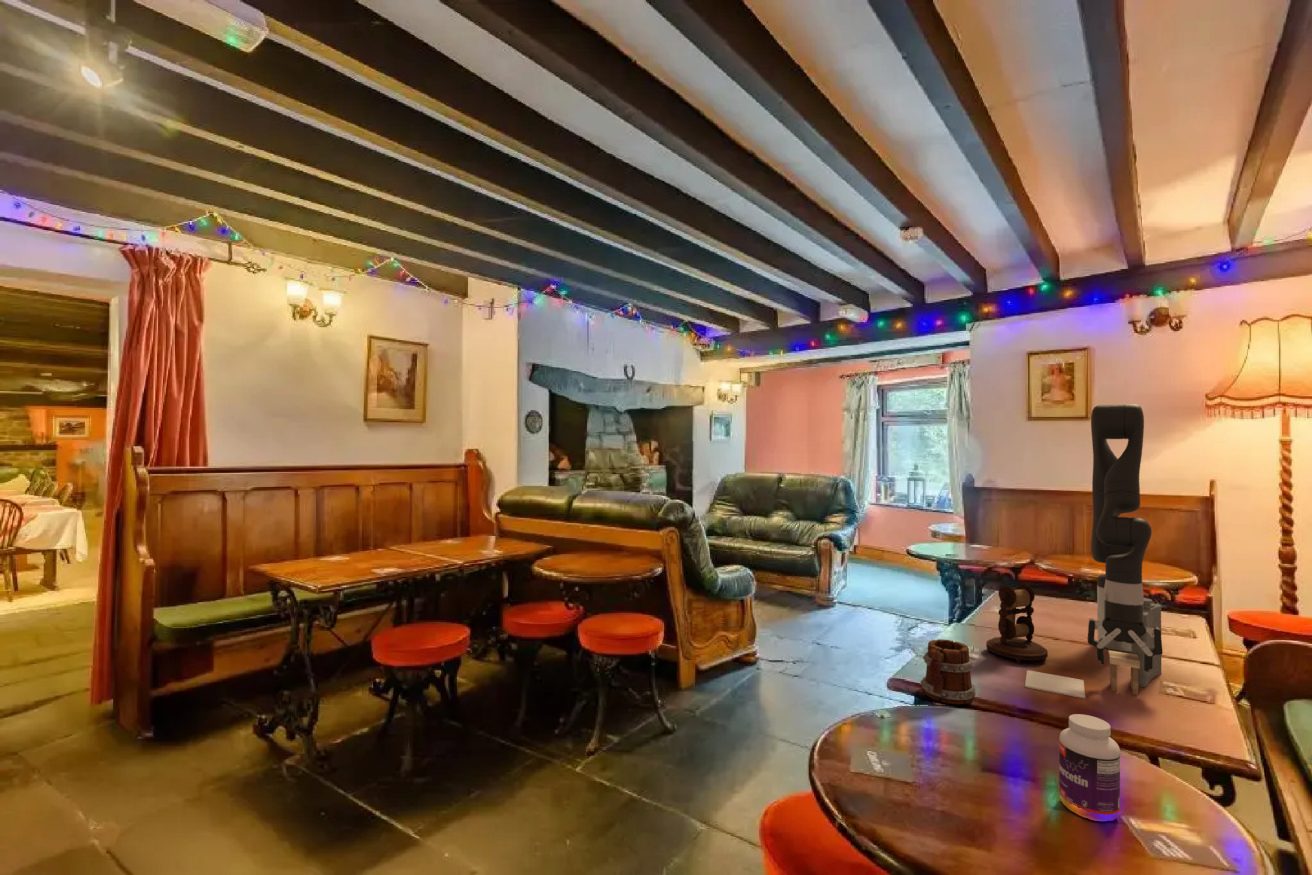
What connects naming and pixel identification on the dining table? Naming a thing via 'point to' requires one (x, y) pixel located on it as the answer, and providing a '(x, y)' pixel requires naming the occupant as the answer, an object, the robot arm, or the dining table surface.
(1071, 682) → the mat
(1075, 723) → the pill bottle
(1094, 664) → the dining table surface
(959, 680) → the mug
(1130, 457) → the robot arm
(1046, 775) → the dining table surface
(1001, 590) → the scroll
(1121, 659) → the stool
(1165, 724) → the dining table surface
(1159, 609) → the hip flask
